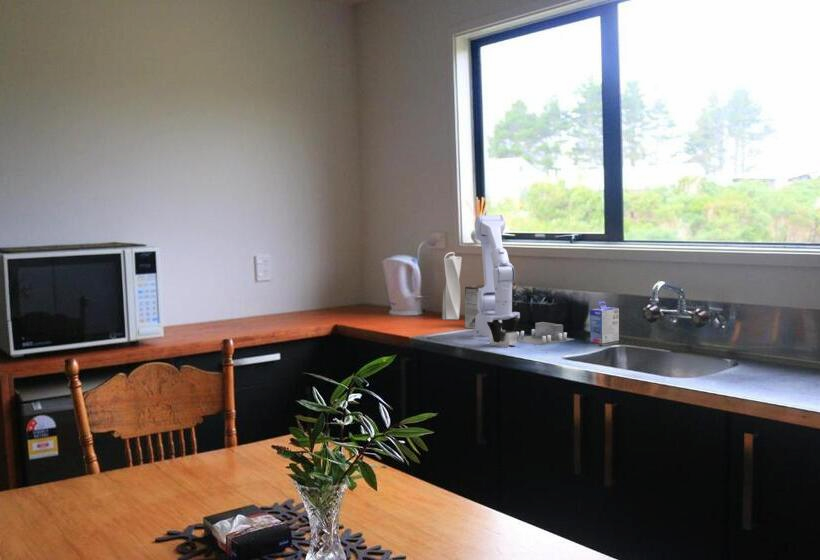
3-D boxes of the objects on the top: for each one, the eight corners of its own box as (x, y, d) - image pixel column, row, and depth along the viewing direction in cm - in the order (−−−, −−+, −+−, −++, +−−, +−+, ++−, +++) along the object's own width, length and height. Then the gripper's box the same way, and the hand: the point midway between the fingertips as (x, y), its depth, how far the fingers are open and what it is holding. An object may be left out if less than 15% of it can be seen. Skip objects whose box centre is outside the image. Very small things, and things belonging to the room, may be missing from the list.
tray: (507, 342, 275) (507, 332, 274) (541, 336, 286) (541, 327, 286) (541, 348, 263) (541, 337, 263) (575, 342, 275) (575, 332, 275)
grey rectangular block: (489, 344, 272) (489, 329, 271) (497, 343, 274) (497, 328, 274) (508, 348, 265) (509, 333, 264) (517, 346, 267) (517, 331, 267)
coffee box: (476, 324, 315) (476, 284, 314) (490, 326, 311) (490, 285, 310) (464, 327, 308) (464, 286, 306) (478, 329, 304) (478, 287, 302)
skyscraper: (442, 317, 338) (442, 252, 335) (461, 317, 337) (462, 252, 335) (441, 320, 330) (441, 253, 327) (461, 320, 329) (461, 253, 326)
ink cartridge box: (606, 341, 277) (606, 299, 276) (619, 343, 273) (620, 301, 271) (588, 344, 271) (589, 302, 269) (602, 346, 266) (603, 303, 265)
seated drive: (535, 337, 279) (535, 322, 279) (542, 335, 282) (542, 321, 281) (555, 340, 273) (555, 325, 272) (562, 339, 275) (562, 324, 275)
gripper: (497, 304, 260) (497, 344, 262) (526, 300, 270) (526, 340, 271) (481, 302, 266) (481, 342, 267) (511, 298, 275) (510, 337, 276)
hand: (503, 340), depth 269 cm, fingers open, 6 cm apart
